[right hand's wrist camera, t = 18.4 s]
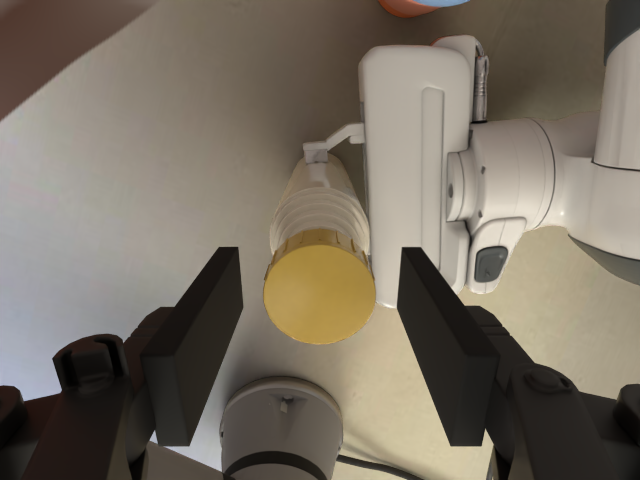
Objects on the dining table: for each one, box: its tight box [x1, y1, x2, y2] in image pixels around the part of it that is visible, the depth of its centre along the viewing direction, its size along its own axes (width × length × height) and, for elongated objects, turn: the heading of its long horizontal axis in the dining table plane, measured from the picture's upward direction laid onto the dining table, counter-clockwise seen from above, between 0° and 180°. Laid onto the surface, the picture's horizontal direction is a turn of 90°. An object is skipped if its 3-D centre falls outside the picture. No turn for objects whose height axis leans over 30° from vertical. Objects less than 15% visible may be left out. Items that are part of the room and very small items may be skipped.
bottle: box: [270, 153, 370, 256], centre depth 24 cm, size 5×5×23 cm
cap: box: [263, 228, 376, 344], centre depth 14 cm, size 4×4×2 cm
